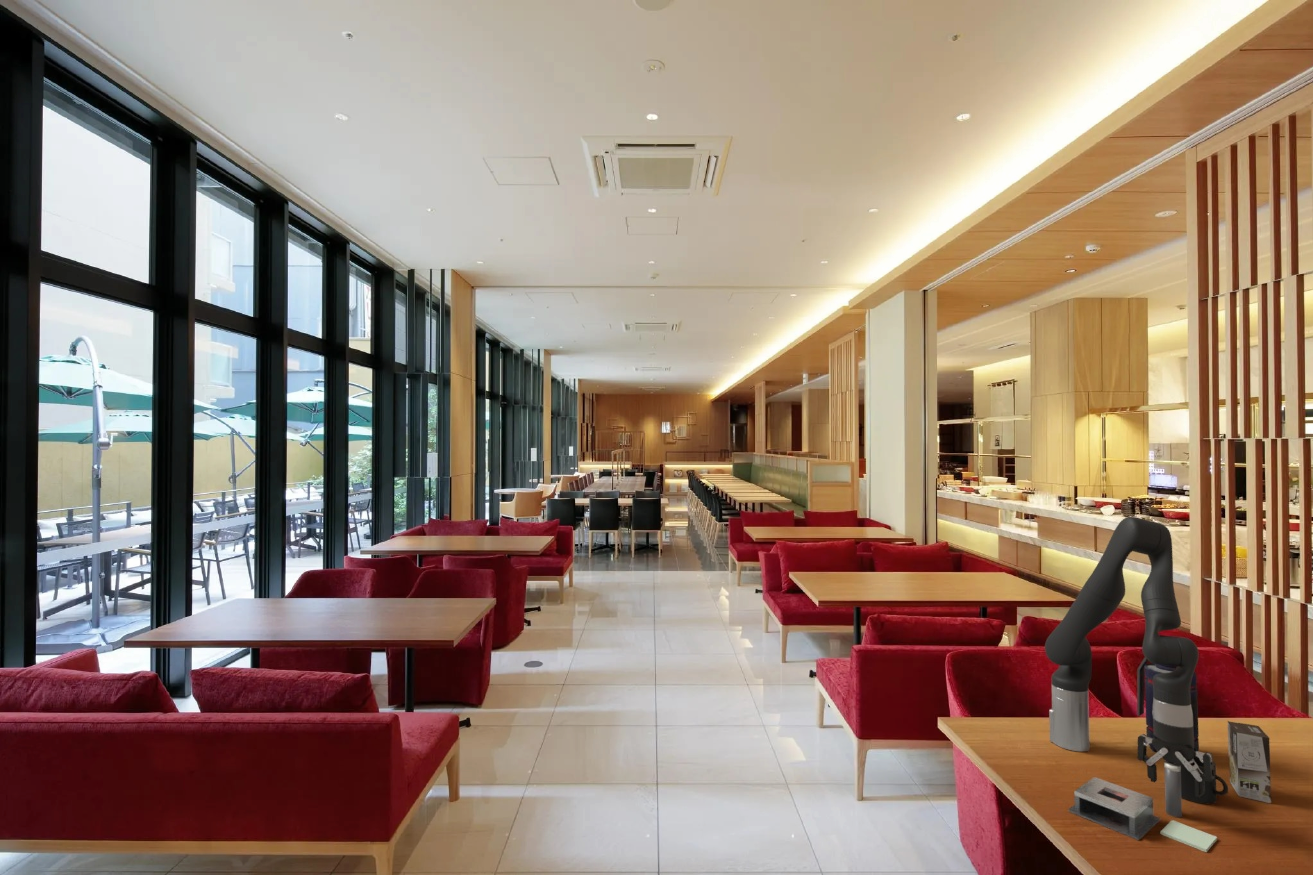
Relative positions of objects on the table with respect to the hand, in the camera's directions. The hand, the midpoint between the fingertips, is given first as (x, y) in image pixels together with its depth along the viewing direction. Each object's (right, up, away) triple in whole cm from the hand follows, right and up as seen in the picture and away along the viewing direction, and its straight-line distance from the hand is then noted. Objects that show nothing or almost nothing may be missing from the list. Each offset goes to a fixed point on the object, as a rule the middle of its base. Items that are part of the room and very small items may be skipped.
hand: (1175, 788), depth 149 cm
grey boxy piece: (-16, -6, -1) cm, 17 cm away
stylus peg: (0, -6, 0) cm, 6 cm away
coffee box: (+28, -7, +10) cm, 30 cm away
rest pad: (-5, -6, -9) cm, 12 cm away
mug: (+12, -7, +8) cm, 16 cm away
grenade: (+26, -8, +33) cm, 43 cm away
